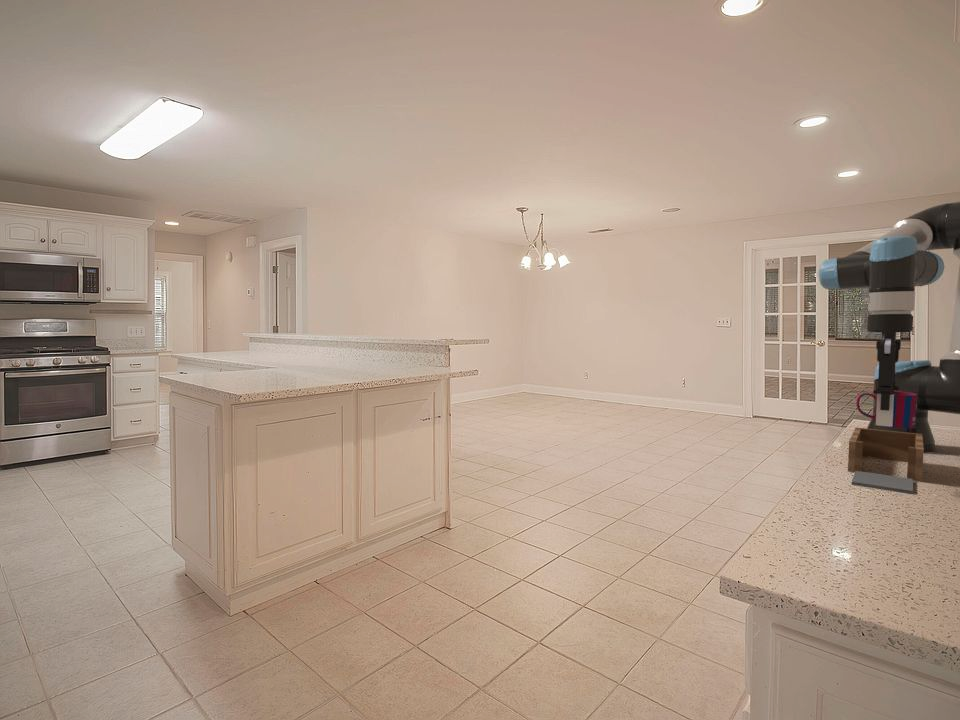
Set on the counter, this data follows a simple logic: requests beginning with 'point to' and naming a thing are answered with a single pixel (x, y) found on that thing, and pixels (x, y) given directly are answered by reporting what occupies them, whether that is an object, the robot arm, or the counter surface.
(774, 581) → the counter surface
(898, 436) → the walnut box
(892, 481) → the slate mat
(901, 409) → the mug
